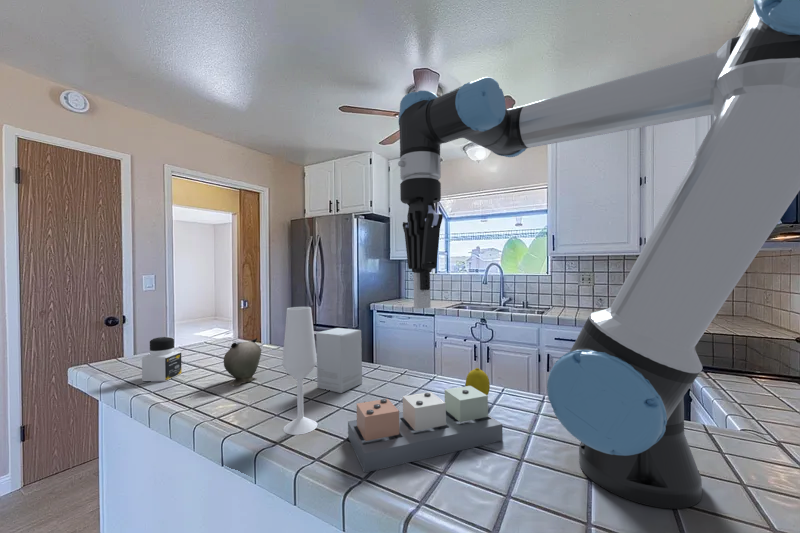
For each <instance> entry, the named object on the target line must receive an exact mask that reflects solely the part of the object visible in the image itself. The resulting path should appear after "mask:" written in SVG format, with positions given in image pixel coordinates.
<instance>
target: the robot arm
mask: <svg viewBox="0 0 800 533" xmlns="http://www.w3.org/2000/svg"><path fill="white" fill-rule="evenodd" d="M753 7H754V8H753V12H752V13H751V16H750V18H749V19H748V22H747V24H746V25H745V27H744V30H743V31H742V33H741V35H740V36H735V37H732V38H729V39H727V40H726V42H725V43H723V45H722V46H721V47H719V49H718V50H716V51H715V52H711V53H708V54H703V55H699V56H696V57H693V58H689V59H686V60H682V61H678V62H674V63H672V64H671V63H670V64H668V65H665V66H660V67H657V68H653V69H650V70H646V71H642V72H639V73H635V74H632V75H627V76H624V77H621V78H617V79H613V80H610V81H607V82H603V83H599V84H596V85H593V86H589V87H585V88H581V89H577V90H574V91H571V92H567V93H564V94H560V95H557V96H552V97H549V98H545V99H542V100H539V101H534V102H531V103H528V104H524V105H520V106H516V107H513V108H506V105H507V104H506V99H505V98H506V97H505V94H504V91H503V89H502V88H500V84H499V82H498V81H497V80H496V79H495V78H493V77H488V76H485V77H482V78H479V79H476V80H474V81H470V82H467V83H464V84H463V85H461V86H459V87H457V88H455V89H453V90H451V91H448V92H446V93H445V94H442V95H440V96H438V95H437V94H436V93H434V92H433V91H428V90H424V89H422V90H417V91H412V92H409V93H406V94H405V95H404V96H403V97H402V98H401V100H400V103H399V114H398V115H399V117H398V126H399V127H398V128H399V161H398V162H397V165H398V167H400V170H399V171H400V175H399V176H400V178H399V179H400V180H401V183H400V186H399V187H400V190H399V191H400V192H399V193H400V202H401V203H403V204H405V205H408V212H407V218H406V219H407V221H403V222H402V229H403V232H404V239H405V240H404V241H405V249H406V250H405V251H406V259H407V260H406V261H407V268H408V269H409V270H411V272H412V273H413V274H412V275H413V308H415V309H430V308H432V306H431V273H432V270H435V269H436V268H437V265H438V264H437V263H438V252H439V242H440V241H439V240H440V234H441V232H440V231H441V225H442V222H443V217H444V215H443V213H437V212H436V205H435V204H437V203H439V202H440V201H441V199H442V194H441V192H442V190H441V189H442V187H441V186H442V183H441V182H440V179H441V175H442V174H441V171H442V170H441V168H442V167H441V166H442V165H441V145H442V144H446V143H450V142H452V141H456V140H458V139H465V140H467V141H469V142H471V143H473V144H476V145H478V146H480V147H483V148H484V149H486V150H488V151H491V152H492V153H493V154H495V155H497V156H500V157H505V158H514V157H517V156H519V155H521V154H522V153H523V152H525V151H526V150H527V149H531V148H536V147H541V146H546V145H553V144H558V143H563V142H569V141H574V140H579V139H586V138H591V137H595V136H601V135H603V136H604V135H608V134H613V133H618V132H624V131H630V130H636V129H640V128H641V129H642V128H645V127H652V126H658V125H663V124H668V123H674V122H679V121H685V120H690V119H696V118H701V117H708V116H714V117H715V119H714V121H713V123H712V124H711V125H710V128H709V129H708V131H707V134H706V135H705V136H704V139H703V141H702V143H701V144H700V146H699V148H698V149H697V151H696V153H695V155H694V156H693V158H692V160H691V162H690V164H689V165H688V167H687V169H686V171H685V172H684V175H683V176H682V178H681V179H680V182H679V183H678V186H676V188H675V190H674V192H673V194H672V196H671V198H670V200H669V201H668V203H667V205H666V207H665V208H664V210H663V212H662V214H661V216H660V218H659V219H658V221H657V223H656V225H655V226H654V228H653V230H652V232H651V233H650V236H649V238H648V239H647V240H646V242H645V244H644V247H643V248H642V249H641V252H640V253H639V255H638V257H637V259H636V260H635V262H634V264H633V266H632V267H631V269H630V271H629V273H628V275H627V277H626V278H625V280H624V282H623V284H622V286H621V287H620V290H619V291H618V293H617V295H616V296H615V298H614V300H613V302H612V303H611V305H610V306H609V307H608V308H605V309H601V310H597V311H593V312H591V313H590V314H589V315H588V318H587V319H586V322H585V324H584V325H583V327H582V328H581V330H580V332H579V334H578V335H577V338H576V339H575V341H574V344H573V345H572V347H571V349H570V350H569V351H568V352H567V353H565V354H563V355H562V356H560V357H559V358H558V360H556V361H555V362H554V365H553V366H552V367H551V369H550V372H549V374H548V377H547V383H546V391H547V392H546V393H547V398H548V401H549V403H550V405H551V408H552V410H553V413H554V415H555V417H556V418H557V420H558V421H559V422H560V424H561V425H562V426H563V427H564V429H565V430H567V432H568V433H569V434H571V436H573V437H574V438H575V439H577V440H578V441H579V442H580V443H579V446H578V462H579V466H580V469H581V470H582V471H583V473H584V474H585V475H586V476H587V477H588V478H589V479H590V480H591V481H592V482H593V483H595V484H596V485H598V486H600V487H602V489H605V490H606V491H608V492H610V493H612V494H614V495H616V496H619V497H621V498H623V499H625V500H629V501H631V502H635V503H638V504H642V505H646V506H650V507H654V508H660V509H661V508H662V509H675V510H676V509H685V508H687V509H688V508H690V507H692V506H693V507H694V506H696V505H698V504H699V503H700V501H702V498H703V481H702V475H701V474H700V470H699V469H698V466H697V464H696V460H695V457H694V455H693V453H692V449H691V447H690V445H689V443H688V439H687V437H686V434H685V405H684V404H685V403H684V397H685V395H686V393H687V392H688V391H689V389H690V388H691V386H692V385H693V383H695V381H696V379H697V378H698V376H699V375H700V373H701V372H702V370H703V364H702V362H701V360H700V358H699V355H698V354H697V351H696V346H697V344H698V343H699V341H700V339H701V338H702V337H703V335H704V333H705V332H706V331H707V329H708V328H709V327H710V324H712V322H713V320H714V319H715V317H716V316H717V314H718V313H719V311H720V310H721V308H722V307H723V306H724V304H725V303H726V302H727V299H728V298H729V296H730V295H731V294H732V293H733V291H734V289H735V288H736V286H737V284H738V282H740V280H741V278H742V277H743V276H744V274H745V273H746V272H747V270H748V268H749V267H750V265H751V264H752V262H753V261H754V259H755V258H756V256H757V255H758V253H759V252H760V250H761V248H762V247H763V246H764V244H765V242H766V241H767V240H768V238H769V237H770V235H771V233H773V231H774V230H775V228H776V226H777V225H778V224H779V222H780V221H781V219H782V217H783V216H784V214H785V213H786V212H787V210H788V208H789V207H790V205H791V204H792V202H793V201H794V199H795V198H796V197H797V195H798V194H799V192H800V0H753Z"/></svg>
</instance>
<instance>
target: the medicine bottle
mask: <svg viewBox="0 0 800 533" xmlns="http://www.w3.org/2000/svg"><path fill="white" fill-rule="evenodd" d="M182 368H183V367H182V351H180V350H178V351H177V350H175V338H174V337H172V336H161V337H160V336H159V337H155V338H153V339H150V340H149V354H148V355H144V356H143V357H142V358H141V381H142V382H143V381H151V382H168V381H170V380H172V379H174V378H176V377H178V376H180V375H181V374H182V373H183V372H182ZM171 378H172V379H171ZM169 379H170V380H169ZM167 380H168V381H167Z"/></svg>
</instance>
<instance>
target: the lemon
mask: <svg viewBox="0 0 800 533" xmlns="http://www.w3.org/2000/svg"><path fill="white" fill-rule="evenodd" d="M465 386H472V387H474V388H475V389H477V390H479V391H480V392H482V393H484V394H486V395H487V396H488V395H489V394H490V386H491V385H490V380H489V377H488V375H487V373H486V372H485V371H484V370H482V369H481V368H479V367H476V368H474V369H472V370H470V371H469V372H468V374H467V376H466V379H465Z"/></svg>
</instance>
